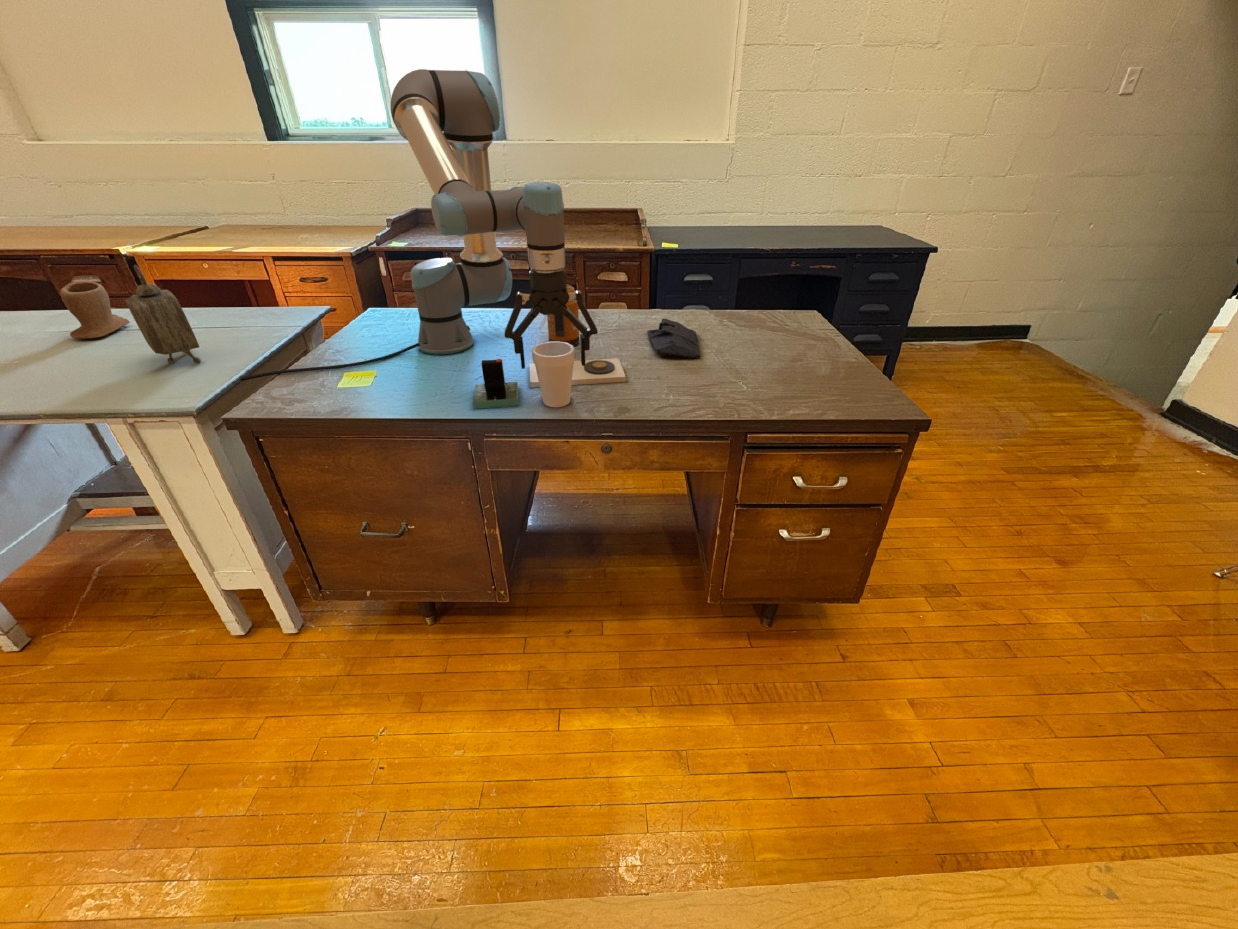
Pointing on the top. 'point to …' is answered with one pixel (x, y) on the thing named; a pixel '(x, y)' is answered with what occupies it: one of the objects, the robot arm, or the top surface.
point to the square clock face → (496, 397)
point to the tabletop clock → (161, 320)
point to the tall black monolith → (493, 376)
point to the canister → (564, 324)
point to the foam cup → (554, 371)
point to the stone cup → (91, 309)
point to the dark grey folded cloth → (674, 340)
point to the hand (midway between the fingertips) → (553, 364)
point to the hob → (589, 372)
